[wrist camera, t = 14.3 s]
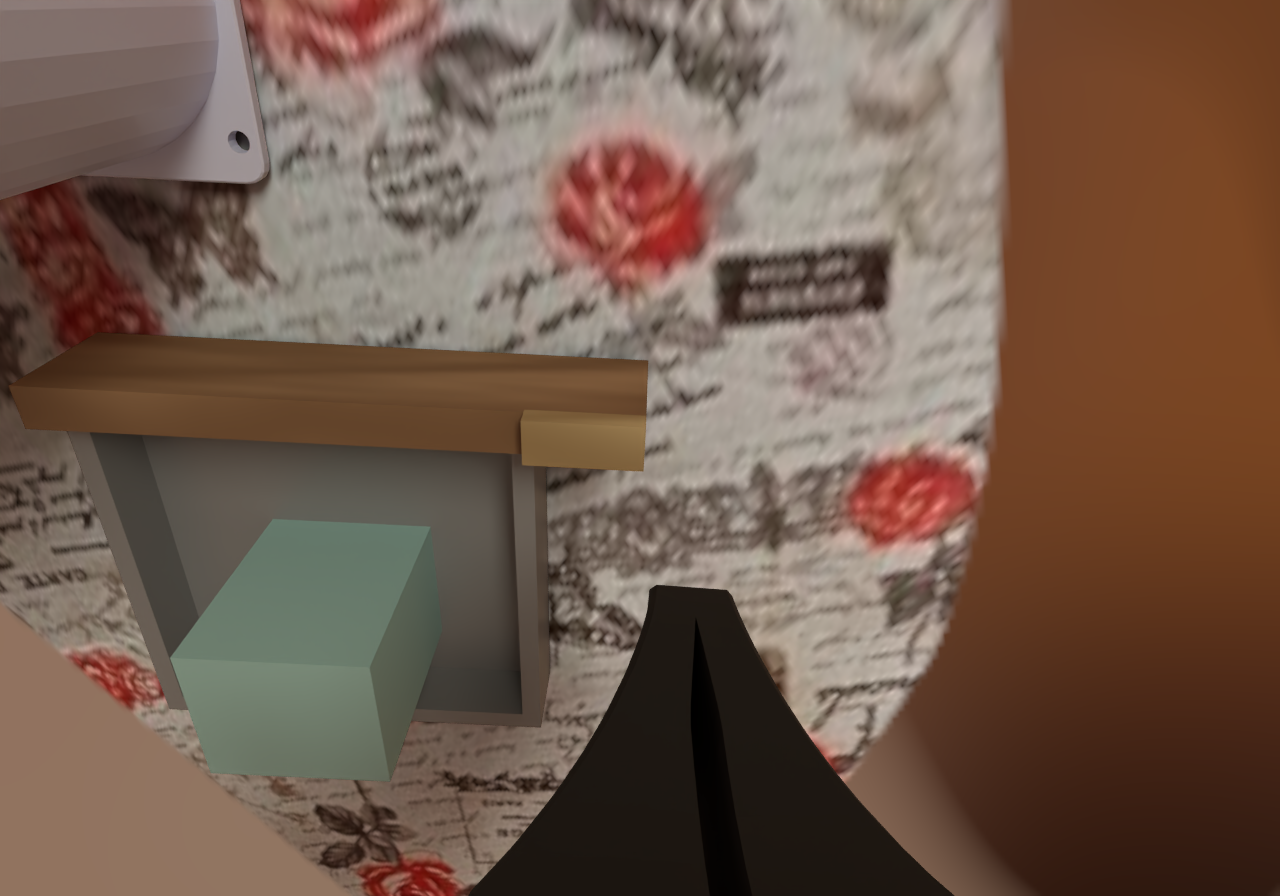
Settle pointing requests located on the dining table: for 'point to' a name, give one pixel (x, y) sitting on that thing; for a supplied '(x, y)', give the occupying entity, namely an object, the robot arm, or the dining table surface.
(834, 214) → the dining table surface
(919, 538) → the dining table surface
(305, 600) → the block
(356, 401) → the long wooden plank
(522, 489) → the grey open tray
